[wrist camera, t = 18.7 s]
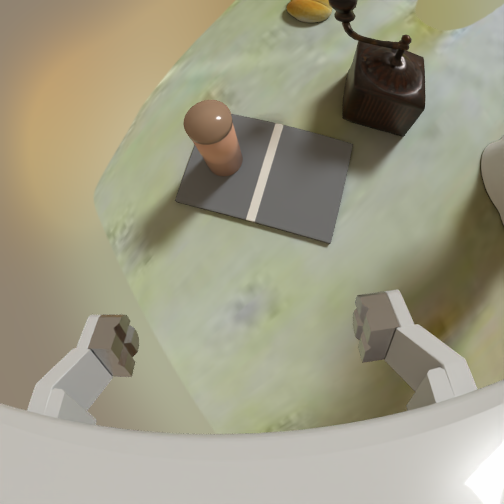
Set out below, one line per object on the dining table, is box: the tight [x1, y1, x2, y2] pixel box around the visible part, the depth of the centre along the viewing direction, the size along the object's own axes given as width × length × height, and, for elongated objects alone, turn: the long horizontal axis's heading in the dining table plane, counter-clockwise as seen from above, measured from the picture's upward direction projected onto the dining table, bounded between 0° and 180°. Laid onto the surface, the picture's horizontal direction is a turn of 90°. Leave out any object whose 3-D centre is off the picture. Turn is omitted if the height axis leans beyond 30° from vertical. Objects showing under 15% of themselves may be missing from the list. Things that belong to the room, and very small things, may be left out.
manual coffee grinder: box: [328, 0, 425, 136], centre depth 35 cm, size 16×11×18 cm
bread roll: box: [287, 0, 332, 23], centre depth 45 cm, size 8×9×4 cm
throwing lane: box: [175, 114, 353, 244], centre depth 44 cm, size 22×15×1 cm
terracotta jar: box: [184, 100, 243, 176], centre depth 38 cm, size 5×5×12 cm
